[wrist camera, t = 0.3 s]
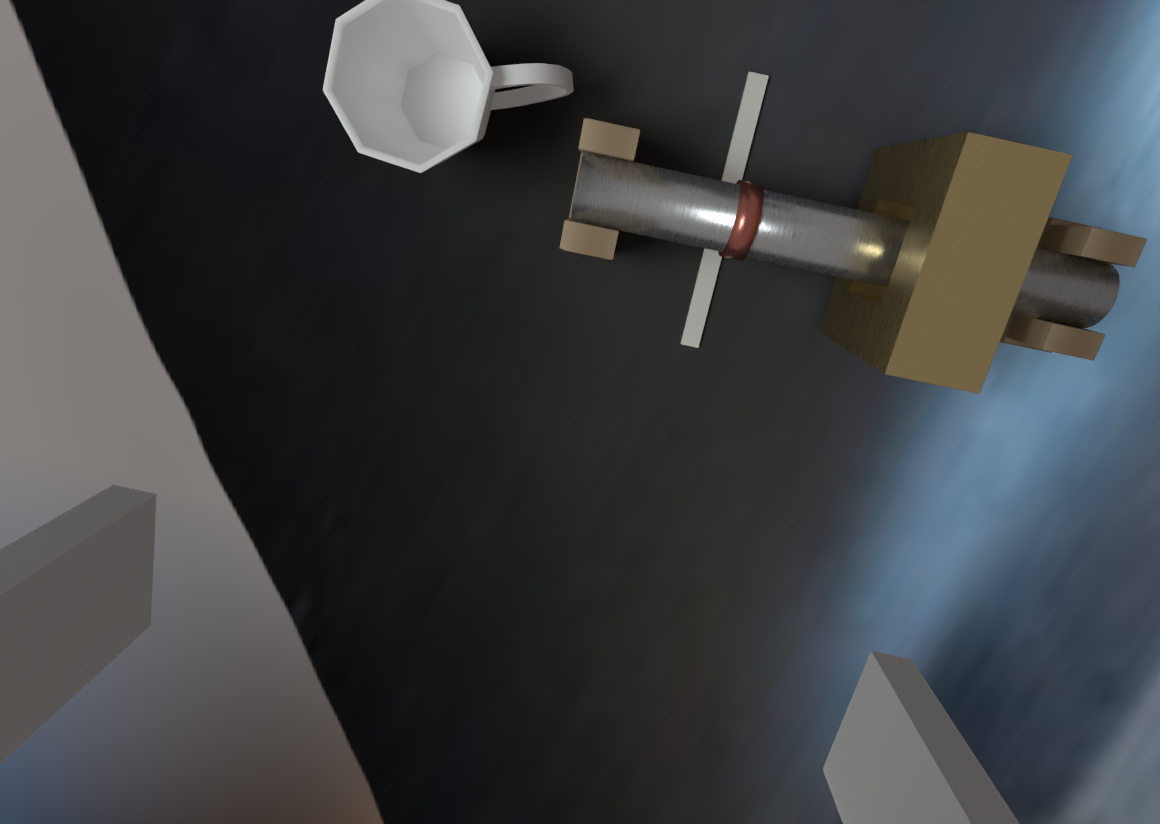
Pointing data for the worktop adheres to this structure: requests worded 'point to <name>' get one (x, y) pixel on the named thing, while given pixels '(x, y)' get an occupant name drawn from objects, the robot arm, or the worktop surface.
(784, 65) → the worktop surface
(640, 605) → the worktop surface
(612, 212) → the pipe
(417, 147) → the cup
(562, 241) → the cradles
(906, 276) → the collar
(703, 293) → the tick mark
